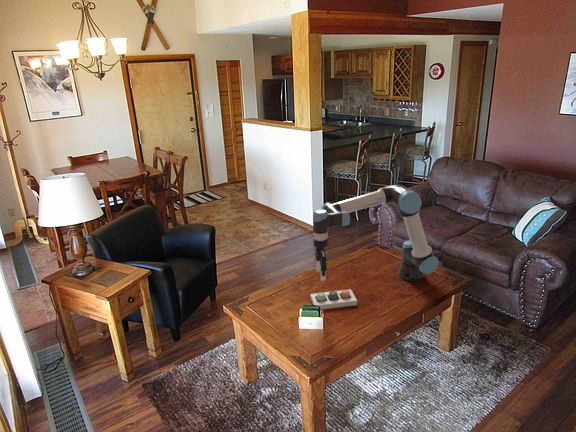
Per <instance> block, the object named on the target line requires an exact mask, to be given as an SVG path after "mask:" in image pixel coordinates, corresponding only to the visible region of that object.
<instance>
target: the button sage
mask: <svg viewBox="0 0 576 432" xmlns="http://www.w3.org/2000/svg"><path fill="white" fill-rule="evenodd" d="M317 293H318V294H317V302H323V301H326V295H325V294H324V292H317Z"/></svg>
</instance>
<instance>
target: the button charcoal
mask: <svg viewBox="0 0 576 432" xmlns="http://www.w3.org/2000/svg"><path fill="white" fill-rule="evenodd" d="M335 291H336V290H333V291H328V292H329V301H331V300H338V293H337V292H335Z"/></svg>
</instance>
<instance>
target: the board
mask: <svg viewBox="0 0 576 432" xmlns="http://www.w3.org/2000/svg"><path fill="white" fill-rule="evenodd" d="M342 290H343V289H341V290H334V291H335V292H337V293H338V299H337V300H330V299H329V292H330V291H325V292H323V293H324V294H325V295H326V300H325V301H323V302H319V301H317V294H318V293H319V292H316V293H310V301H311V304H312V305H317V306H319V307H320V308H321V310H328V309H335V308H345V307H352V306H357V305H358V300H357V298H356V295H354V292H353V290H352V289H351V288H349V289H347V290H348V291H349V292H350V297H349V298H347V299H343V298H341V291H342Z"/></svg>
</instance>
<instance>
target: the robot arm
mask: <svg viewBox="0 0 576 432" xmlns="http://www.w3.org/2000/svg"><path fill="white" fill-rule="evenodd" d="M422 203H423V202H422V198H421V196H420V195H419V193H417V192H416V191H414V190H412V189H411V188H408V187H406V186H405V185H402V184H390V185H388V186H383V187H380V188H378V189H377V190H376V191H371V192H369V193H365V194H362V195H359V196H355V197H351V198H348V199H345V200H341V201H338V202H335V203H331V202H326V203H324V204H322V206H321V209H316V210H314V211H313V214H312V225H313V226H312V227H313V228H312V231H313V233H312V236H313V239H312V241H313V246H314V247H315V253H314V254H315V255H314V258H315V260H316V262H315V263H316V265H315V266H316V267H315V268H316V273H320V275H319V276H320V277H319V278H320V280H319V281H320V282H323V281H327V280H326V279H327V278H326V277H327V274H326V273H327V272H326V271H327V270H328V269H327V268H328V267H327V252H326V250H325V248H326V247H327V246H328V243H329V242H328V235H329V234H328V233H329V232H328V230H329V229H331V228H337V227H344V226H348V225H350V222H351V215H350V213H353V212H356V211H360V210H364V209H367V208H371V207H374V206H378V205H381V204H382V205H387V204H389V205H390V204H391V205H394V206H395V207H396V209H397V212H398V214H399V216H400V217H402V219H403V222H404V225H405V228H406V232H407V235H408V237H409V240H405V241H403V243H402V253H401V254H402V255H401V264H400V266H399V268H398V272H397V275H398V277H399V278H401V279H402V280H405V281H408V282H417V281H420V280H422V279H423V278H424V275H429V274H431V273H434V272H435V271H436V270H437V268H438V267H439V264H440V261H439V259H438V257H436V256H435V255H434V252H433V249H432V247H431V246H430V245H429V244H428V241H427V237H426V233H425V231H424V226H423V224H422V220H421V217H420V214H419V213H420V212H421V206H422V205H423V204H422ZM328 228H329V229H328Z"/></svg>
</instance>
